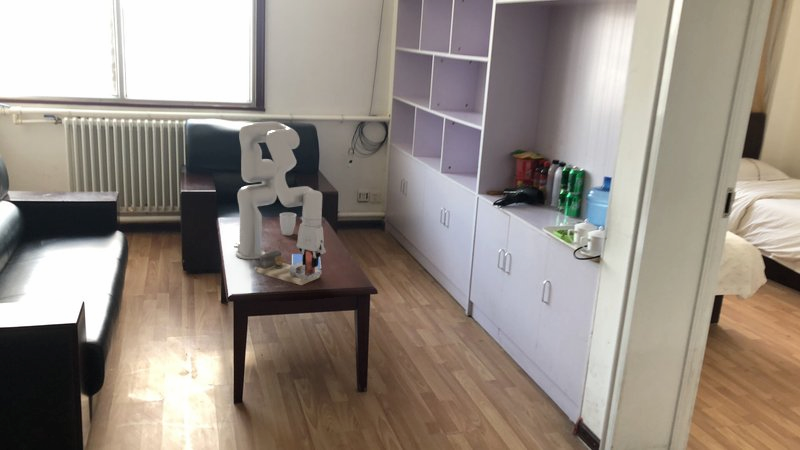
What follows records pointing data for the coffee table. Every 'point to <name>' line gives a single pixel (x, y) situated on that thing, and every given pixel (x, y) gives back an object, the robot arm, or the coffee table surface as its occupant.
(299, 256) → the tablet computer
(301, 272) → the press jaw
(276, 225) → the coffee table surface
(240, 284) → the coffee table surface
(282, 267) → the base
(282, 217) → the cup
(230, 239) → the coffee table surface
